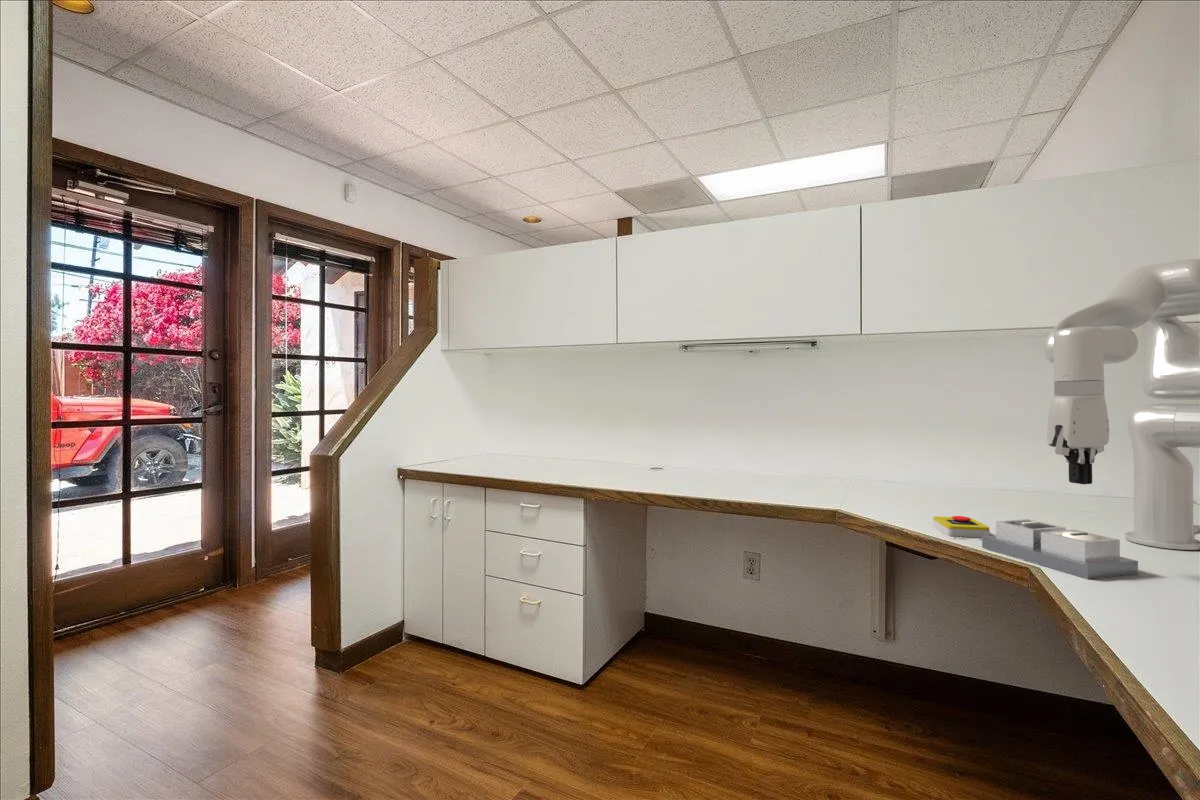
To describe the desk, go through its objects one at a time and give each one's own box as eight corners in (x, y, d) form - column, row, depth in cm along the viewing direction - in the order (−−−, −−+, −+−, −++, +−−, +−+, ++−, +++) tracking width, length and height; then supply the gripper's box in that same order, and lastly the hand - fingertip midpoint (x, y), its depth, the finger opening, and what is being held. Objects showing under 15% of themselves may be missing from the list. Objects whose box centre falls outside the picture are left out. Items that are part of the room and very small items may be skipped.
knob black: (1028, 547, 122) (1028, 519, 122) (1052, 553, 117) (1051, 524, 117) (1008, 549, 121) (1008, 520, 121) (1032, 555, 116) (1031, 525, 116)
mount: (1025, 544, 126) (1025, 517, 126) (1138, 574, 105) (1137, 541, 105) (982, 547, 124) (981, 520, 124) (1087, 579, 102) (1087, 545, 102)
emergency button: (949, 522, 132) (928, 509, 147) (950, 540, 132) (928, 526, 147) (994, 524, 130) (968, 511, 144) (994, 542, 130) (968, 528, 144)
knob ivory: (1075, 560, 113) (1075, 529, 113) (1104, 568, 108) (1103, 535, 108) (1055, 562, 112) (1055, 531, 112) (1082, 570, 106) (1082, 537, 106)
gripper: (1088, 389, 115) (1089, 477, 115) (1029, 391, 111) (1031, 482, 112) (1129, 388, 107) (1131, 483, 108) (1068, 391, 104) (1070, 489, 104)
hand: (1080, 482), depth 110 cm, fingers closed
